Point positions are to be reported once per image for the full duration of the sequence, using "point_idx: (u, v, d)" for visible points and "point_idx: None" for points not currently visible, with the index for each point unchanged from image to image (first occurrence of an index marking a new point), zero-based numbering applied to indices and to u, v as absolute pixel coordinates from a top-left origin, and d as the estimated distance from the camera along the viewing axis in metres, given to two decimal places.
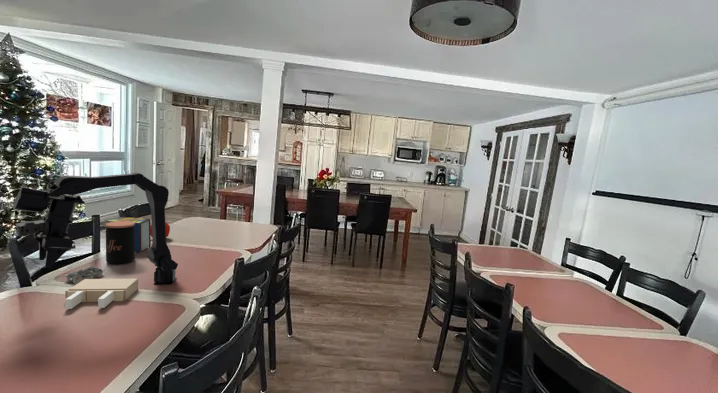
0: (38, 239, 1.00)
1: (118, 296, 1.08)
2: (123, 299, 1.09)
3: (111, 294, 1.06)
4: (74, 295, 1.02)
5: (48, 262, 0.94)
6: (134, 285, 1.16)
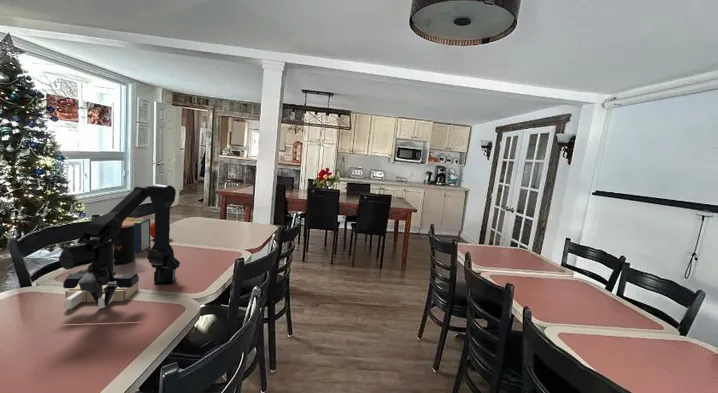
0: None
1: (118, 296, 1.08)
2: (123, 299, 1.09)
3: None
4: (74, 295, 1.02)
5: (108, 300, 1.03)
6: (134, 285, 1.16)
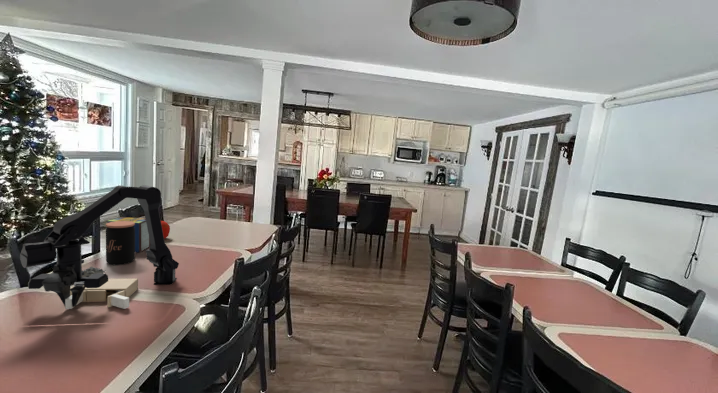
0: None
1: None
2: None
3: None
4: None
5: (76, 301, 1.01)
6: (134, 285, 1.16)
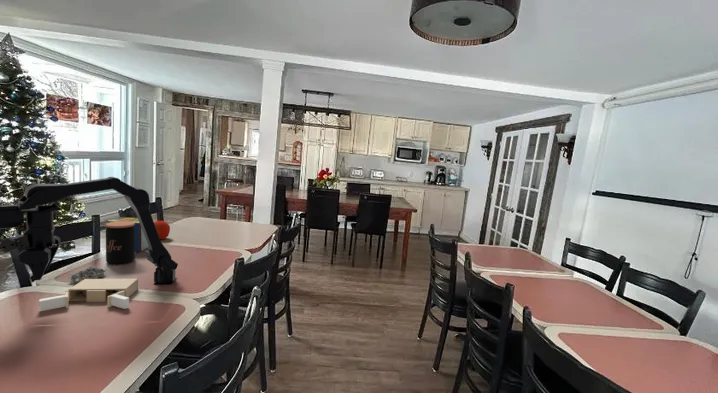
0: None
1: None
2: None
3: None
4: (51, 298, 0.99)
5: (35, 275, 0.93)
6: (134, 285, 1.16)
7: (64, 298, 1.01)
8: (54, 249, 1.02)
